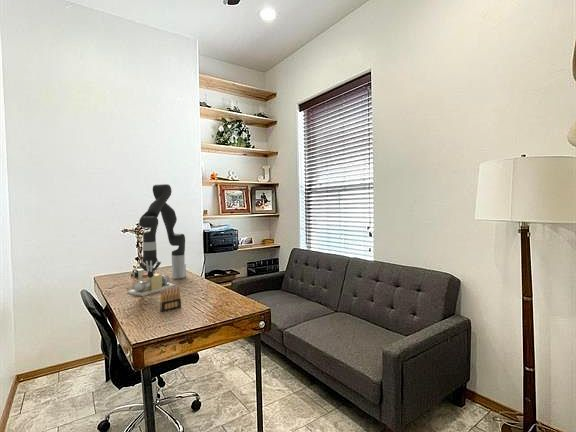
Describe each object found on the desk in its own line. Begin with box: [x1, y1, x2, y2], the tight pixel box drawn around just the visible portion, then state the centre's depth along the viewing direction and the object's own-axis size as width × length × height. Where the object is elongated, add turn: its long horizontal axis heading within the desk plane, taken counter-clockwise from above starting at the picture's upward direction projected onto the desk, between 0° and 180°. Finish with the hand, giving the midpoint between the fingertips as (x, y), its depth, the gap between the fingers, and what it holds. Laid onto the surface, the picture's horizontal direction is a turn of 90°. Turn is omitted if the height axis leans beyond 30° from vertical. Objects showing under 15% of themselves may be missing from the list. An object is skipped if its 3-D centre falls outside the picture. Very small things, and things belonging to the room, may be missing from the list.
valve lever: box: [142, 270, 156, 278], centre depth 200 cm, size 16×3×2 cm, turn 5°
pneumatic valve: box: [132, 267, 147, 282], centre depth 220 cm, size 6×12×12 cm, turn 131°
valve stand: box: [126, 272, 177, 297], centre depth 207 cm, size 26×14×11 cm, turn 152°
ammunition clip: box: [159, 285, 182, 313], centre depth 167 cm, size 11×2×12 cm, turn 135°
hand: (150, 277), depth 195 cm, fingers closed
